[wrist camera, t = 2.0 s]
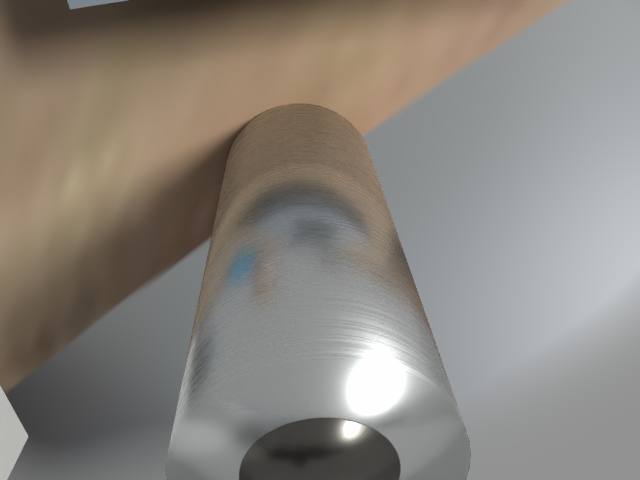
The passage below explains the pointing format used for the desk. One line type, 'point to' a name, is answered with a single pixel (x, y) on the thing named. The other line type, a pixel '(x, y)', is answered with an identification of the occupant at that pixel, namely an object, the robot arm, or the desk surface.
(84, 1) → the frame
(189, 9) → the desk surface
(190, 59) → the desk surface
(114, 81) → the desk surface
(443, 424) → the bushing
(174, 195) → the desk surface
